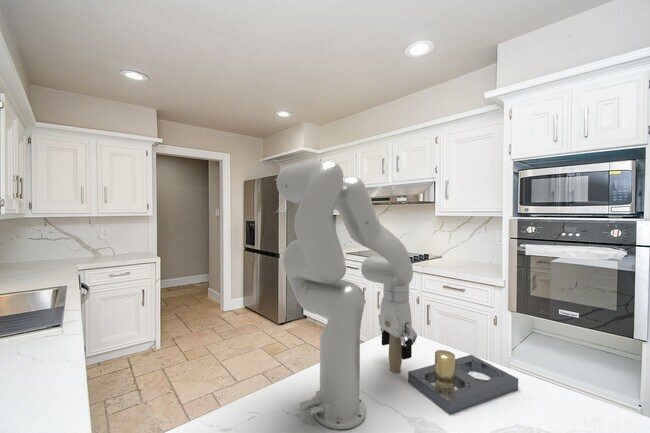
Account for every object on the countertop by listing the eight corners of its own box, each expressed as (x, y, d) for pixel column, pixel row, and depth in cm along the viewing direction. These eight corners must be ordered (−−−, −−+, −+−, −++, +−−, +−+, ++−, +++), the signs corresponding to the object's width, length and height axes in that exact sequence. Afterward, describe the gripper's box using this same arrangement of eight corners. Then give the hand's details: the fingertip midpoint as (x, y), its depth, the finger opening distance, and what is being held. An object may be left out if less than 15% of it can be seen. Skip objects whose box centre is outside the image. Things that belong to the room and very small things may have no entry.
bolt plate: (449, 414, 72) (449, 402, 72) (408, 381, 86) (408, 371, 86) (518, 389, 82) (518, 378, 82) (471, 364, 96) (471, 354, 96)
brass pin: (444, 398, 78) (445, 360, 78) (430, 388, 83) (430, 352, 82) (458, 394, 80) (459, 356, 80) (444, 384, 85) (444, 348, 84)
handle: (406, 376, 89) (406, 325, 88) (383, 373, 90) (384, 323, 90) (406, 368, 93) (406, 319, 93) (384, 365, 95) (385, 317, 95)
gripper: (369, 289, 98) (369, 341, 98) (404, 305, 82) (404, 367, 83) (389, 286, 101) (389, 337, 101) (426, 301, 85) (425, 361, 86)
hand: (395, 351), depth 92 cm, fingers open, 9 cm apart
